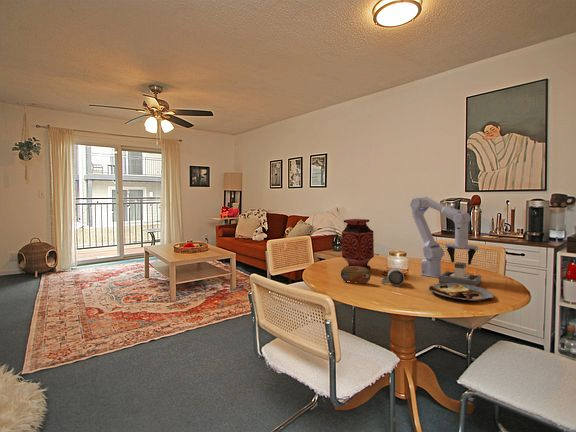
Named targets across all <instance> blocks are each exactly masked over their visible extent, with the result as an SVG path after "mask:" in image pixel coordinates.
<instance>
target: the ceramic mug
mask: <svg viewBox="0 0 576 432" xmlns="http://www.w3.org/2000/svg"><path fill="white" fill-rule="evenodd" d="M404 281H405V275H404V273H403V272H402V271H401V270H400V269H399V268H391V269H389V271H388V272H387V276H386V277H384V278H382V279H381V280H380V282H381V284H384V285H385V284H387V283H389V284H391V285H392V286H396V287H398V286H401V285H402V284H403V283H404Z"/></svg>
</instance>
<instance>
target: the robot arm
mask: <svg viewBox="0 0 576 432" xmlns="http://www.w3.org/2000/svg"><path fill="white" fill-rule="evenodd" d="M409 206H410V207H411V215H412V218H413V220H414V223H415V225H416V227H417V229H418V230H417V231H418V232H419V234H420V235H419V236H420V237H421V239H422V241H423V246H422V250H423V251H422V252H423V256H424V258H422V260H421V265H420V266H421V271H420V273H421V274H420V275H421V276H426V277H431V278H436V279H437V278H438V279H439V275H441V274H442V257H443V256H444V255H445V251H444V249H443V247H442V246H441V245H440V243H438V242H437V241H436V240H435V239H434V237H433V234H432V232H431V229H430V227H429V225H428V223H427V220H426V218H425V216H424V215H425V213H426V212H427V211H428V209H429V208H431V209H434V210H436V211H438V212H440V213H441V215H442V216H443V217H445V218H448V219H449V220H451V221H452V222H453V223H454V243H446V244H444V245H445V248H446V251H447V253H448V255H449V258H450V260H451V263H453V264H454V263H455V252H456V249H457V250H467V256H468V258H467V259H468V262H467V264H468V266H469V265H470V266H471V265H472V260H473V258H474V256H475V255H476V254H475V253H476V252H478V251H479V246H478V245H471V244H470V245H469V223H470V222H471V221H472V217H471V215H470V213H468V212H467V211H463V212H462V210H461V209H456V208H455V207H454V206H453V205H443V204H441V203H439V202H437V201H435V200H433V198H430V197H427V196H425V197H424V196H423V197H417V196H415V197H413V198H412V199H411V201H410V204H409Z"/></svg>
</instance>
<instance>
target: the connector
mask: <svg viewBox="0 0 576 432" xmlns="http://www.w3.org/2000/svg"><path fill="white" fill-rule="evenodd" d="M466 268H467V263H465V262H458V261H456V262H454V272H455V276H458V277H466V274H467V272H466V271H467V269H466Z"/></svg>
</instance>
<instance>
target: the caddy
mask: <svg viewBox="0 0 576 432" xmlns="http://www.w3.org/2000/svg"><path fill="white" fill-rule="evenodd" d="M440 283H443V284H444V283H446V284H447V283H457V284H466V285H471V286H476V287H479V286H480V285H481V284H482V275H477V274H476V275H475V274H469V273H466V277H458V276H455V271H444V272H443V273H441V275H439V278H438V284H440Z"/></svg>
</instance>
